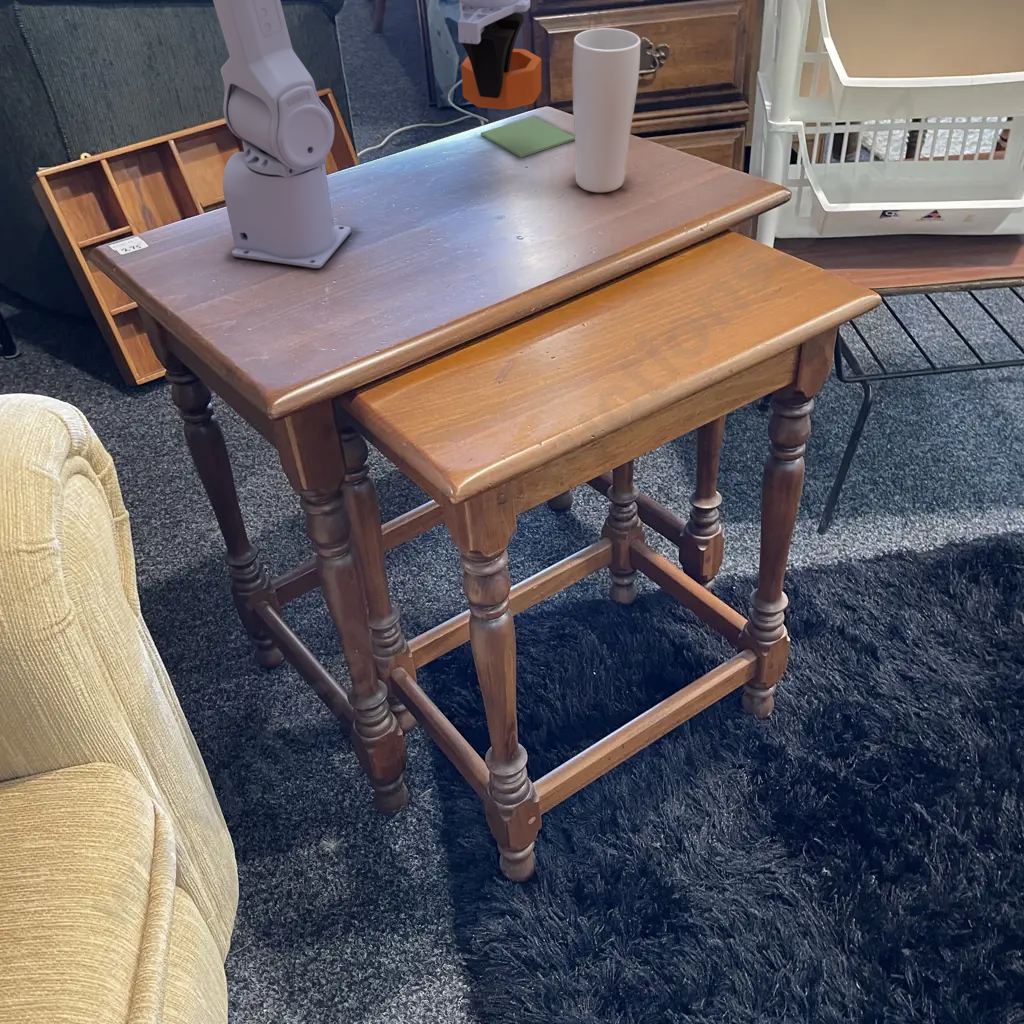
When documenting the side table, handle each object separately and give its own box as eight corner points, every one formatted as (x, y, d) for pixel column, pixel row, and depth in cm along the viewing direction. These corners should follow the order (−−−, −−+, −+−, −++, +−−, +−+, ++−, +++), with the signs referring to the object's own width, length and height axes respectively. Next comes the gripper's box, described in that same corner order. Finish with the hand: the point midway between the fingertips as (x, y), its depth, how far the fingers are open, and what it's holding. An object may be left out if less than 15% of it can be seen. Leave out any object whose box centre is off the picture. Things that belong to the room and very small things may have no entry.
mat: (521, 157, 113) (521, 155, 112) (480, 135, 117) (480, 132, 117) (575, 139, 116) (575, 137, 116) (533, 118, 121) (533, 116, 120)
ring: (456, 105, 106) (454, 72, 103) (477, 78, 111) (475, 45, 109) (528, 111, 104) (528, 77, 102) (546, 83, 110) (546, 50, 107)
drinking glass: (633, 197, 105) (644, 50, 95) (569, 198, 105) (574, 51, 95) (628, 169, 110) (638, 26, 100) (567, 170, 110) (571, 27, 100)
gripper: (507, -26, 89) (509, 123, 99) (547, -68, 99) (546, 71, 109) (433, -32, 91) (442, 116, 100) (481, -72, 101) (485, 66, 110)
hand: (492, 93), depth 104 cm, fingers closed on ring
